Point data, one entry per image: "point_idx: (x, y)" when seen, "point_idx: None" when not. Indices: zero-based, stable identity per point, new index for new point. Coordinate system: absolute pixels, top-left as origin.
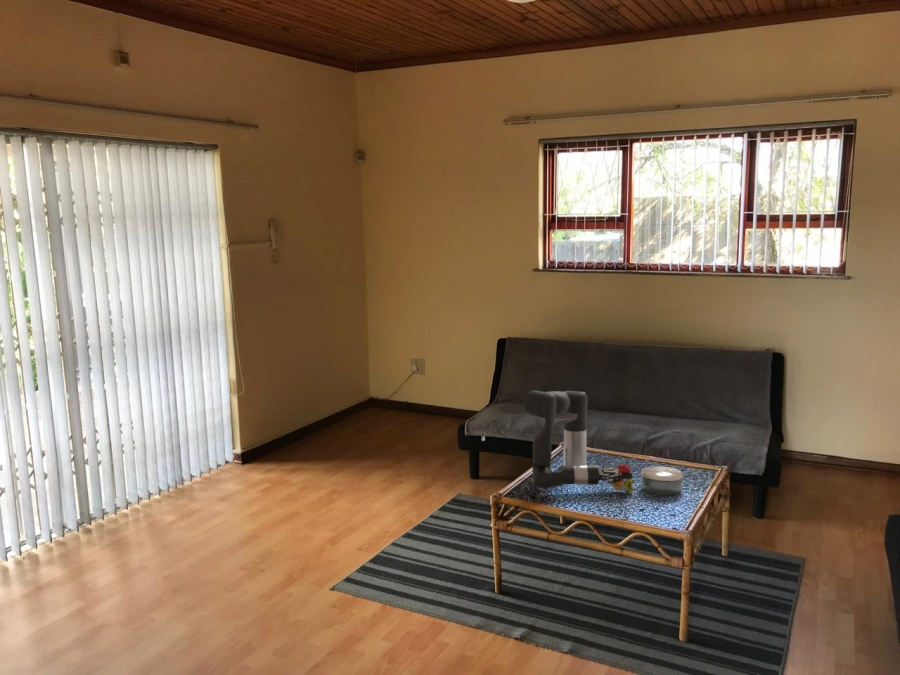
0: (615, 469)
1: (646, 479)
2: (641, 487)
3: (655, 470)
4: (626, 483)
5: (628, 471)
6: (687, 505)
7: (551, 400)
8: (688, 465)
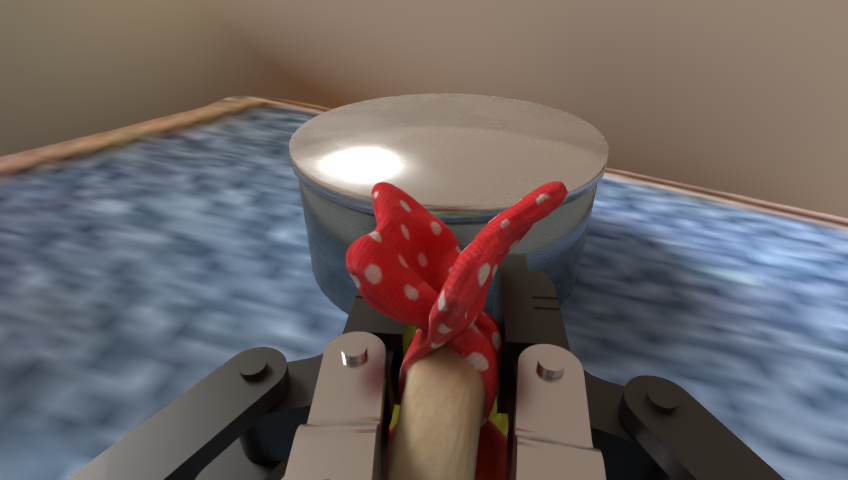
0: (320, 392)
1: None
2: None
3: (388, 143)
4: (496, 409)
5: (503, 257)
6: (704, 218)
7: None
8: (159, 129)
